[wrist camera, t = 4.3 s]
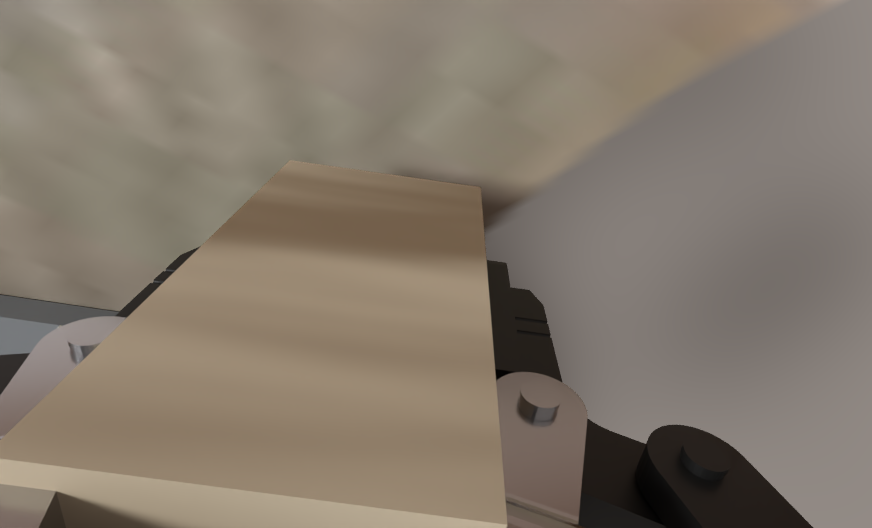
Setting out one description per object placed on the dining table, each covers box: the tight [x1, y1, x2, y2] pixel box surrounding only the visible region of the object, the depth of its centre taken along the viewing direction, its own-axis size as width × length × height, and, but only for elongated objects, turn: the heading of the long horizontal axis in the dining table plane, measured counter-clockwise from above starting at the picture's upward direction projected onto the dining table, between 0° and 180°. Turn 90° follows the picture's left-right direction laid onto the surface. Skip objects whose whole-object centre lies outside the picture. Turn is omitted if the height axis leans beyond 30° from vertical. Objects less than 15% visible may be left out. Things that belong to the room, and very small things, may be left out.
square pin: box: [0, 160, 507, 528], centre depth 9 cm, size 4×4×8 cm
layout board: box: [0, 295, 119, 355], centre depth 17 cm, size 13×20×2 cm, turn 82°
